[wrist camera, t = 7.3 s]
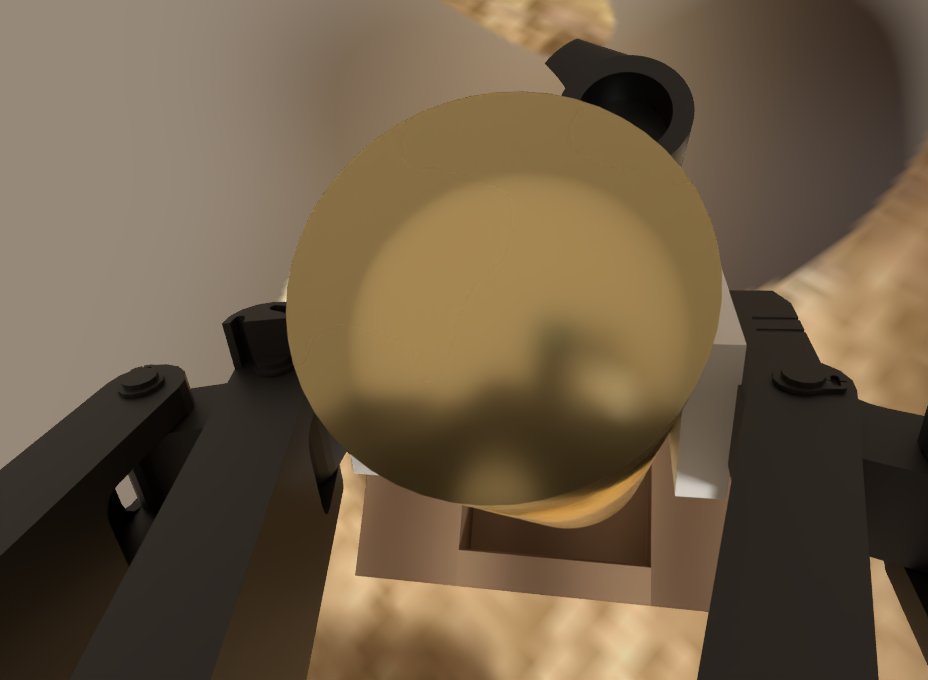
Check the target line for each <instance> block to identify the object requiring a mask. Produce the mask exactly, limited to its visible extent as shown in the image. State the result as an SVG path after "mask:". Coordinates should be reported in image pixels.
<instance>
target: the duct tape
mask: <svg viewBox="0 0 928 680" xmlns="http://www.w3.org/2000/svg"><path fill="white" fill-rule="evenodd" d="M545 64H546V65H547V66H548V67H549V68H550V69H551V70H552V71H553V73H554V74H555V75H556V76H557V77H558V78H559V80H560V81H561V82H562V84H563V85H564V87H565V90H564V92H563V93H562V96H564V97H569V98H574V99H577V100H580V101H583V102H586V103H589V104H592V105H595V106H598V107H601V108H603V109H605V110H607V111H609V112H611V113H613V114H615V115H618V116H620V117H622V118H624V119H625V120H627V121H628V122H630V123H631V124H633V125H634V126H636V127H638V128H639V129H641V130H642V131H644V132H645V133H646V134H648V135H649V136H650V137H651V138H652V139H653V140H655V141H656V142H657V143H658V144H659V145H661V146H662V147H663V148H664V149H665V150H666V151H667V152H668V153H669V154H670V155H671V157H672V158H673V159H674V160H675V161H676V162H677V163H678V164H679V166H680V167H681V165H682V163H683V159H684V155H685V151H686V147H687V143H688V140H689V135H690V132H691V128H692V124H693V119H694V101H693V97H692V94H691V91H690V89H689V87H688V85H687V84H686V83H685V81H684V79H683V78H682V77H681V76H680V75H679V74H678V73H677V72H676V71H675V70H673V69H672V68H670V67H669V66H667V65H666V64H664V63H662V62H660V61H657V60H654V59H651V58H648V57H643V56H634V55H627V54H623V53H621V52H617V51H614V50H611V49H608V48H605V47H601V46H598V45H595V44H592V43H589V42H586V41H583V40H580V39H575V40H573V41H571V42H569V43H568V44H566V45H565V46H563V47H562V48H560V49H559V50H558V51H557V52H555V53H554V54H553V55H552V56H551V57H550V58H549V59H548V60H547V62H546V63H545Z"/></svg>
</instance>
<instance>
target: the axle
mask: <svg viewBox="0 0 928 680" xmlns="http://www.w3.org/2000/svg"><path fill="white" fill-rule="evenodd" d="M721 303H722V269H721V263H720V255H719V249H718V243H717V239H716V236H715V233H714V229H713V226H712V223H711V220H710V217H709V214H708V212H707V210H706V208H705V206H704V204H703V202H702V200H701V198H700V195H699V193H698V191H697V190H696V189H695V187H694V185H693V184H692V182H691V181H690V179H689V178H688V176H687V175H686V173H685V172H684V170H683V169H682V168H681V167H680V166H679V164H678V163H677V162H676V161H675V160H674V159H673V158H672V157H671V155H670V154H669V153H668V152H667V151H666V150H665V149H664V148H663V147H662V146H661V145H659V144H658V143H657V142H656V141H655V140H653V139H652V138H651V137H650V136H649V135H648V134H646V133H645V132H644V131H642V130H641V129H639V128H638V127H636V126H634V125H633V124H631V123H630V122H628V121H627V120H625V119H624V118H622V117H620V116H618V115H615V114H613V113H611V112H609V111H607V110H605V109H603V108H601V107H598V106H595V105H592V104H589V103H586V102H583V101H580V100H577V99H574V98H569V97H564V96H558V95H553V94H548V93H535V92H496V93H490V94H483V95H476V96H470V97H466V98H463V99H459V100H455V101H451V102H447V103H444V104H442V105H439V106H437V107H434V108H431V109H429V110H426V111H423V112H421V113H419V114H417V115H415V116H413V117H411V118H409V119H407V120H405V121H403V122H402V123H400V124H398V125H396V126H395V127H393V128H392V129H390V130H389V131H387V132H386V133H384V134H383V135H381V136H380V137H378V138H377V139H375V140H374V141H373V142H372V143H371V144H369V145H368V146H367V147H366V148H364V149H363V150H362V151H361V152H360V153H358V154H357V155H356V156H355V158H353V159H352V160H351V161H350V162H349V163H348V165H347V166H346V167H345V168H344V169H343V170H342V171H341V172H340V173H339V174H338V175H337V177H336V178H335V179H334V180H333V182H332V183H331V184H330V186H329V187H328V188H327V190H326V191H325V192H324V193H323V195H322V197H321V198H320V200H319V202H318V203H317V205H316V207H315V208H314V210H313V212H312V213H311V215H310V217H309V219H308V221H307V224H306V226H305V228H304V230H303V232H302V235H301V237H300V239H299V243H298V245H297V249H296V252H295V255H294V258H293V261H292V265H291V271H290V276H289V282H288V287H287V303H286V321H287V335H288V342H289V347H290V352H291V356H292V361H293V365H294V368H295V371H296V373H297V376H298V379H299V382H300V385H301V387H302V390H303V392H304V393H305V395H306V397H307V399H308V401H309V403H310V405H311V407H312V409H313V411H314V412H315V414H316V415H317V416H318V418H319V419H320V421H321V422H322V423H323V425H324V426H325V428H326V429H327V430H328V432H329V433H330V434H331V435H332V436H333V437H334V438H335V439H336V440H337V442H338V443H339V444H340V445H341V446H342V447H343V448H344V449H345V450H346V451H347V452H348V453H349V454H350V455H352V456H353V457H354V458H356V459H357V460H358V461H359V462H361V463H362V464H363V465H365V466H366V467H367V468H368V469H370V470H371V471H373V472H374V473H376V474H378V475H380V476H381V477H383V478H385V479H387V480H388V481H390V482H392V483H394V484H395V485H398V486H400V487H403V488H405V489H408V490H410V491H413V492H415V493H418V494H420V495H423V496H427V497H431V498H435V499H439V500H443V501H448V502H452V503H456V504H460V505H464V506H468V507H472V508H476V509H480V510H484V511H489V512H493V513H497V514H501V515H505V516H509V517H513V518H517V519H521V520H526V521H530V522H534V523H538V524H542V525H546V526H550V527H555V528H564V529H569V528H581V527H587V526H590V525H593V524H597V523H599V522H601V521H603V520H605V519H607V518H609V517H611V516H612V515H614V514H615V513H617V512H618V511H619V510H620V509H621V508H622V507H624V506H625V505H626V503H627V502H628V501H629V500H630V499H631V498H632V496H633V495H634V493H635V492H636V490H637V489H638V487H639V485H640V484H641V482H642V480H643V478H644V477H645V475H646V473H647V471H648V469H649V468H650V466H651V464H652V462H653V461H654V459H655V457H656V455H657V454H658V452H659V450H660V448H661V447H662V445H663V443H664V441H665V440H666V438H667V436H668V434H669V432H670V431H671V429H672V427H673V425H674V424H675V422H676V420H677V418H678V417H679V415H680V413H681V411H682V410H683V408H684V406H685V404H686V403H687V401H688V399H689V397H690V396H691V394H692V392H693V390H694V388H695V387H696V385H697V382H698V380H699V378H700V376H701V374H702V372H703V370H704V368H705V365H706V363H707V361H708V359H709V356H710V353H711V349H712V346H713V343H714V339H715V336H716V333H717V329H718V323H719V316H720V309H721Z"/></svg>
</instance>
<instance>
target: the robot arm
mask: <svg viewBox="0 0 928 680" xmlns="http://www.w3.org/2000/svg"><path fill="white" fill-rule="evenodd" d="M721 269H722V268H721ZM286 303H287V302H271V303H265V304H259V305H255V306H252V307H249V308H246V309H243V310H241V311H239V312H237V313H235V314H233V315H231V316H230V317H228V318H227V320H225V321H224V322H223V323H222V325H223V329H224V332H225V335H226V339H227V343H228V346H229V349H230V353H231V357H232V360H233V364H234V367H235V370H234V372H233V374H232V376H231V378H230V379H229V381H228V383H225V384H219V385H212V386H205V387H199V388H192V389H190V386H189V383H188V380H187V377H186V374H185V371H183V370H182V369H181V368H179V367H178V366H172V365H146V366H144V367H143V368H142V366H141V367H138V368H134V369H132V370H131V371H130V372H128V373H125V374H123V375H120V376H118V377H117V378H115V379H114V380H112V381H111V382H109V383H107V384H106V385H105V386H104V387H102V388H101V389H100V390H99V391H97V392H96V393H95V394H94V395H92V396H91V397H90V398H89V399H87V400H86V401H85V402H84V403H82V404H81V405H80V406H79V407H78V408H76V409H75V410H74V411H73V412H71V413H70V414H69V415H68V416H67V417H65V418H64V419H63V420H61V421H60V422H59V423H58V424H57V425H55V426H54V427H53V428H52V429H50V430H49V431H48V432H47V433H45V434H44V435H43V436H42V437H40V438H39V439H38V440H37V441H35V442H34V443H33V444H32V445H31V446H29V447H28V448H27V449H26V450H24V451H23V452H22V453H21V454H19V455H18V456H17V457H16V458H15V459H13V460H12V461H11V462H10V463H8V464H7V465H6V466H4V467H3V468H2V469H1V470H0V680H306V678H307V673H308V668H309V663H310V658H311V653H312V648H313V642H314V637H315V632H316V627H317V622H318V617H319V612H320V606H321V601H322V596H323V591H324V586H325V581H326V576H327V570H328V565H329V560H330V555H331V550H332V545H333V540H334V534H335V529H336V524H337V519H338V514H339V509H340V504H341V499H342V493H343V479H342V474H341V469H340V465H339V464H340V462H341V460H342V459H343V457H344V455H345V453H346V452H347V451H346V450H345V449H344V448H343V447H342V446H341V445H340V444H339V443H338V442H337V440H336V439H335V438H334V437H333V436H332V435H331V434H330V433H329V432H328V430H327V429H326V428H325V426H324V425H323V423H322V422H321V421H320V419H319V418H318V416H317V415H316V414H315V412H314V411H313V409H312V407H311V405H310V403H309V401H308V399H307V397H306V395H305V393H304V392H303V390H302V387H301V385H300V382H299V379H298V376H297V373H296V371H295V368H294V365H293V361H292V356H291V352H290V347H289V342H288V335H287V321H286ZM669 442H670V452H671V462H672V472H673V482H674V492H675V496H681V497H695V498H709V499H723V500H726V498H727V490H728V483H729V475H730V478H731V487H730V492H729V498H728V504H727V510H726V516H725V521H724V527H723V533H722V539H721V545H720V550H719V556H718V562H717V568H716V574H715V579H714V585H713V591H712V597H711V602H710V608H709V614H708V620H707V626H706V631H705V637H704V643H703V649H702V655H701V660H700V666H699V672H698V678H697V680H879V679H878V665H877V652H876V638H875V625H874V611H873V598H872V584H871V571H870V557H873V558H876V559H880V560H883V561H884V564H885V570H886V573H887V575H888V577H889V579H890V582H891V584H892V586H893V588H894V591H895V593H896V595H897V597H898V600H899V602H900V604H901V606H902V609H903V611H904V613H905V615H906V618H907V620H908V622H909V624H910V626H911V629H912V631H913V633H914V635H915V638H916V640H917V642H918V644H919V647H920V649H921V651H922V653H923V656H924V658H925V660H926V662H927V665H928V406H927V409H926V413H925V416H922V415H917V414H912V413H907V412H902V411H897V410H892V409H888V408H884V407H880V406H876V405H872V404H869V403H867V402H864V401H861V400H859V399H858V395H857V389H856V387H855V385H854V383H853V381H852V380H851V379H850V378H849V377H847V376H846V375H845V374H843V373H842V372H841V371H839V370H837V369H835V368H832V367H830V366H827V365H825V364H823V363H821V362H820V360H819V358H818V356H817V354H816V352H815V350H814V348H813V346H812V344H811V342H810V340H809V338H808V336H807V334H806V332H804V328H803V326H802V324H801V322H800V320H798V316H797V314H796V312H795V310H794V308H793V306H792V304H791V303H790V302H788V301H787V300H785V299H784V298H783V297H781V296H780V295H778V294H777V293H775V292H774V291H732V290H728V286H727V283H726V280H725V278H724V275H723V271H722V303H721V309H720V316H719V323H718V329H717V333H716V336H715V339H714V343H713V346H712V349H711V353H710V356H709V359H708V361H707V363H706V365H705V368H704V370H703V372H702V374H701V376H700V378H699V380H698V382H697V385H696V387H695V388H694V390H693V392H692V394H691V396H690V397H689V399H688V401H687V403H686V404H685V406H684V408H683V410H682V411H681V413H680V415H679V417H678V418H677V420H676V422H675V424H674V425H673V427H672V429H671V431H670V432H669ZM351 460H352V465H353V470H354V474H368V475H378V474H376V473H374V472H373V471H371V470H370V469H368V468H367V467H366V466H365V465H363V464H362V463H361V462H359V461H358V460H357V459H356V458H354V457H353V456H352V455H351ZM127 475H128V476H129V478H130V481H131V483H132V485H133V488H134V490H135V493H136V495H137V499H136V500H135V501H134V502H133V503H132V504H131V505H130V506H129V507H127V508H126V509H125V508H124V507H123V505H122V504H121V502H120V499H119V497H118V494H117V492H116V490H115V488H116V486H117V485H118V484H119V482H121V481H122V480H123V479H124V478H125V477H126V476H127ZM869 556H870V557H869Z"/></svg>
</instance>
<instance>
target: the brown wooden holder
mask: <svg viewBox="0 0 928 680" xmlns="http://www.w3.org/2000/svg"><path fill="white" fill-rule="evenodd" d="M730 487H731V478H730V475H729V483H728V490H727V498H726V500H723V499H709V498H695V497H681V496H675V492H674V482H673V472H672V462H671V452H670V442H669V434H668V436H667V438H666V440H665V441H664V443H663V445H662V447H661V448H660V450H659V452H658V454H657V455H656V457H655V459H654V461H653V462H652V464H651V466H650V468H649V469H648V471H647V473H646V475H645V477H644V478H643V480H642V482H641V484H640V485H639V487H638V489H637V490H636V492H635V493H634V495H633V496H632V498H631V499H630V500H629V501H628V502H627V503H626V505H625V506H624V507H622V508H621V509H620V510H619V511H618V512H617V513H615V514H614V515H612V516H611V517H609V518H607V519H605V520H603V521H601V522H599V523H597V524H593V525H590V526H587V527H581V528H569V529H564V528H555V527H550V526H546V525H542V524H538V523H534V522H530V521H526V520H521V519H517V518H513V517H509V516H505V515H501V514H497V513H493V512H489V511H484V510H480V509H476V508H472V507H468V506H464V505H460V504H456V503H452V502H448V501H443V500H439V499H435V498H431V497H427V496H423V495H420V494H418V493H415V492H413V491H410V490H408V489H405V488H403V487H400V486H398V485H395V484H394V483H392V482H390V481H388V480H387V479H385V478H383V477H381V476H380V475H368V474H367V481H366V490H365V498H364V507H363V515H362V523H361V532H360V540H359V548H358V557H357V565H356V573H355V575H356V576H366V577H375V578H385V579H395V580H405V581H414V582H424V583H434V584H443V585H453V586H463V587H472V588H482V589H492V590H502V591H511V592H521V593H531V594H540V595H550V596H560V597H570V598H579V599H589V600H599V601H608V602H618V603H628V604H637V605H647V606H657V607H667V608H676V609H686V610H696V611H705V612H709V608H710V602H711V597H712V591H713V585H714V579H715V574H716V568H717V562H718V556H719V550H720V545H721V539H722V533H723V527H724V521H725V516H726V510H727V504H728V498H729V492H730Z"/></svg>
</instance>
